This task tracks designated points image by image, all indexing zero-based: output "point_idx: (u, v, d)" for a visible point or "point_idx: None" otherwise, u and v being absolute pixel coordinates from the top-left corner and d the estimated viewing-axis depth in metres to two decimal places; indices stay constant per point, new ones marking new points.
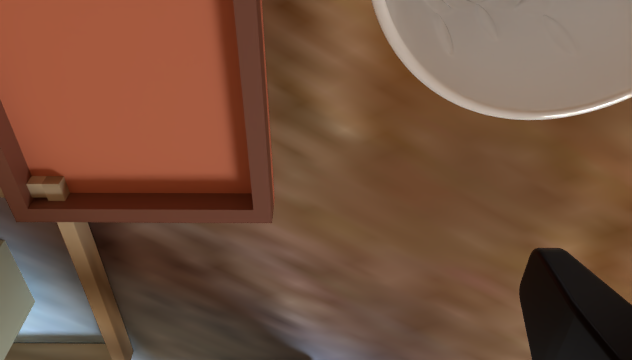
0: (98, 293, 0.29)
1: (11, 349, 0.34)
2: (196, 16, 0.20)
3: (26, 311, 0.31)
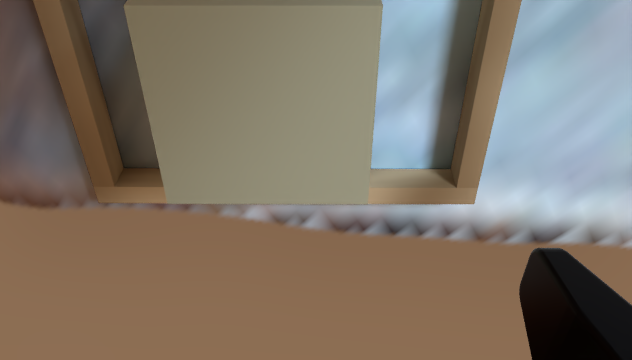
0: None
1: (484, 13, 0.17)
2: None
3: None
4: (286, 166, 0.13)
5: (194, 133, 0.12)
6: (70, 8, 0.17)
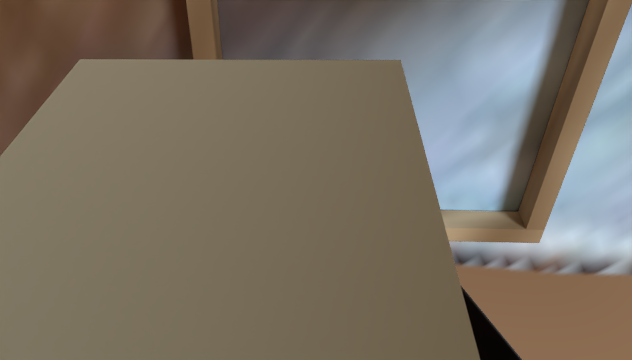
0: None
1: (564, 91, 0.20)
2: None
3: (389, 89, 0.08)
4: None
5: None
6: None
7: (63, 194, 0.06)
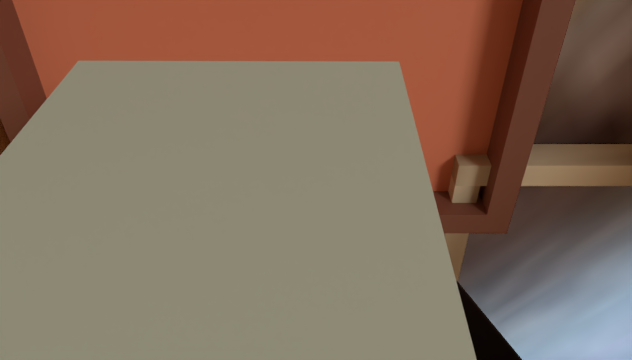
0: None
1: None
2: None
3: (386, 91, 0.08)
4: None
5: None
6: None
7: (62, 195, 0.06)
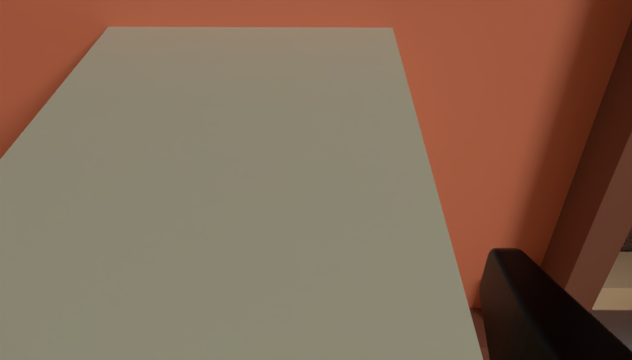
0: None
1: None
2: None
3: (381, 51, 0.09)
4: None
5: None
6: None
7: (106, 128, 0.07)
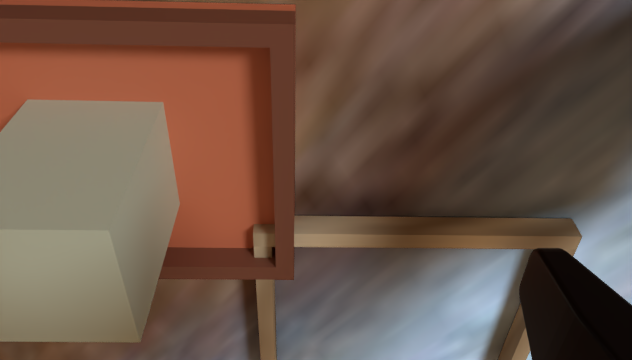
0: (424, 236, 0.24)
1: (516, 326, 0.29)
2: (32, 72, 0.19)
3: (149, 115, 0.19)
4: (69, 320, 0.17)
5: None
6: None
7: (17, 150, 0.17)
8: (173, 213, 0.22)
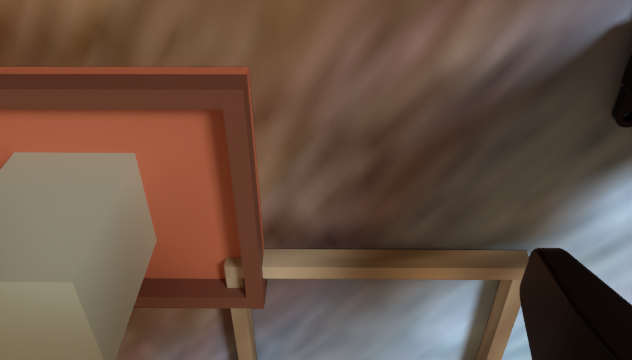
0: (384, 268, 0.25)
1: (483, 348, 0.30)
2: (17, 129, 0.21)
3: (120, 167, 0.21)
4: (46, 355, 0.19)
5: None
6: (253, 347, 0.30)
7: (0, 204, 0.20)
8: (148, 250, 0.24)
